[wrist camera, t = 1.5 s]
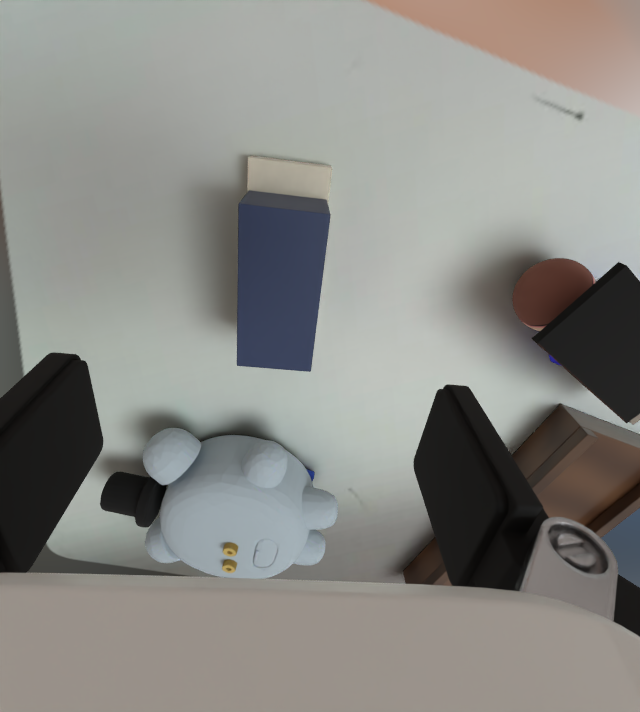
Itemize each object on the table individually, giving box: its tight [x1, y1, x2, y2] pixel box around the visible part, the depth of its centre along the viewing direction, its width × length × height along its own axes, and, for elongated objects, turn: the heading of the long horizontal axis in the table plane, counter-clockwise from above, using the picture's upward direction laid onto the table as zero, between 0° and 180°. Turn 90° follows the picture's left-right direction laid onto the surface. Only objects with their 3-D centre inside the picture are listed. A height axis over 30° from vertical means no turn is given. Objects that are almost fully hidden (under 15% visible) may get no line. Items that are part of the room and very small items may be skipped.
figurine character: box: [512, 258, 640, 425], centre depth 28 cm, size 7×8×15 cm
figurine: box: [100, 428, 338, 579], centre depth 35 cm, size 17×8×20 cm
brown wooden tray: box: [403, 404, 640, 586], centre depth 41 cm, size 28×11×4 cm, turn 156°
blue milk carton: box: [237, 156, 332, 372], centre depth 25 cm, size 12×5×6 cm, turn 173°
